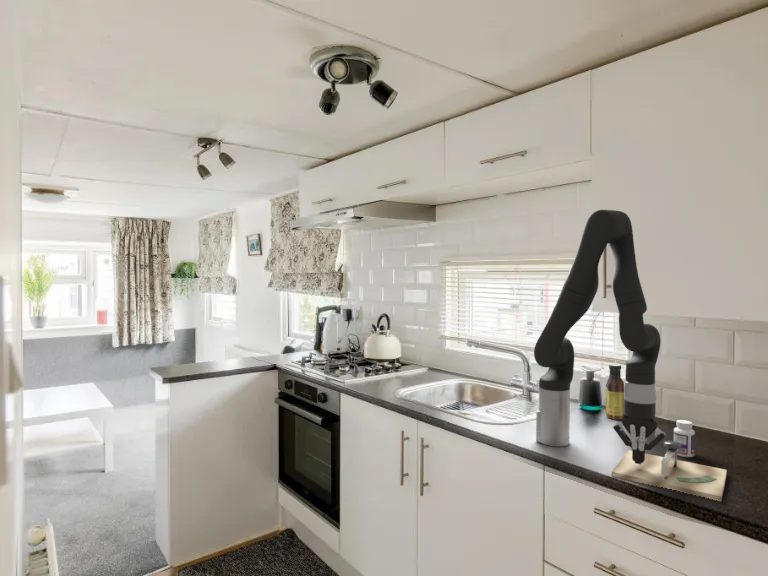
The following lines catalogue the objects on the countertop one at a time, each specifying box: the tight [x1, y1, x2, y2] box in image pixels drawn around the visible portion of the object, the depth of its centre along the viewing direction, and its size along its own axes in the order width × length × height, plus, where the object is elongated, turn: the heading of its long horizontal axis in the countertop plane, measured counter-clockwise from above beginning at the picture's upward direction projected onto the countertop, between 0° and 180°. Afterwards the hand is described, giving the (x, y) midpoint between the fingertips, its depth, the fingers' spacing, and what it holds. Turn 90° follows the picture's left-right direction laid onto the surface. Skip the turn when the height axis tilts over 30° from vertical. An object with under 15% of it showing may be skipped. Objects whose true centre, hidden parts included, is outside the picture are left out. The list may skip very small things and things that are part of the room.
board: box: [611, 449, 728, 503], centre depth 132 cm, size 24×20×1 cm
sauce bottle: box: [605, 363, 625, 421], centre depth 184 cm, size 6×6×20 cm
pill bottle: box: [673, 419, 696, 458], centre depth 147 cm, size 5×5×10 cm
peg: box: [661, 440, 681, 476], centre depth 131 cm, size 14×4×6 cm, turn 143°
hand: (638, 463), depth 134 cm, fingers closed
